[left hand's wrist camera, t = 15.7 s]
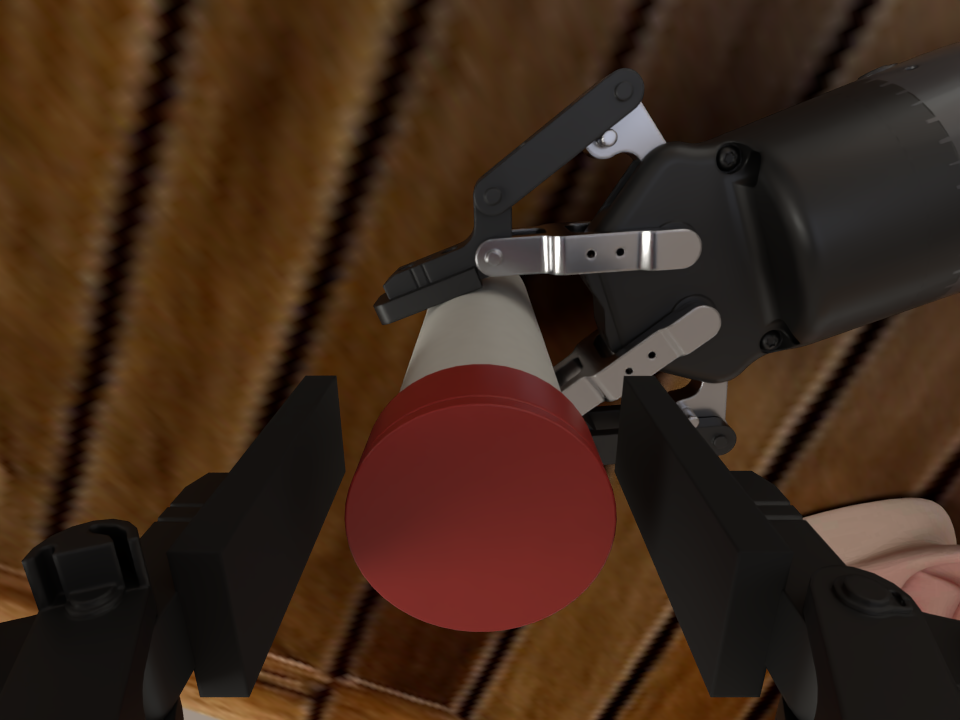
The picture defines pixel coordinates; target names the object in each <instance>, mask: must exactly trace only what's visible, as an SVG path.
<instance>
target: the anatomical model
mask: <svg viewBox="0 0 960 720" xmlns="http://www.w3.org/2000/svg"><path fill="white" fill-rule="evenodd" d="M803 520H806V521H807V522H808V523H809V524H810V525H811V526H812V527H813V529H814V530H815V531H816V532H817V533H818V534H819V535H820V536H821V537H822V539H823V540H824V541H825V542H826V543H827V544H828V545H829V546H830V548H831V549H832V550H833V551H834V552H835V553H836V554H837V555H838V556H839V558H840V559H841V560H842V561H843V562H844V563H845V564H846V565H847V566H851V567H856V568H859V569H862V570H865V571H869V572H872V573H875V574H877V575H879V576H881V577H882V578H884V579H886V580H888V581H890V582H892V583H894V584H895V585H897V586H898V587H899V588H901V589H902V590H903V591H904V592H906V593H907V594H908V595H910V596H911V597H912V599H913V600H914V601H915V603H916V604H917V605H918V607H919V608H920V609H921V611H922V612H925V613H929V614H933V615H938V616H942V617H947V618H951V619H956V620H960V545H957V544H956V537H955V532H954V528H953V525H952V522H951V520H950V517H949V516H948V514H947V513H946V511H945V510H944V509H943V508H942V507H941V506H940V505H939V504H937V503H935V502H933V501H931V500H926V499H922V498H899V499H888V500H880V501H874V502H868V503H863V504H857V505H852V506H847V507H843V508H839V509H834V510H830V511H826V512H822V513H818V514H814V515H811V516H807V517H804V518H803Z"/></svg>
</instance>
